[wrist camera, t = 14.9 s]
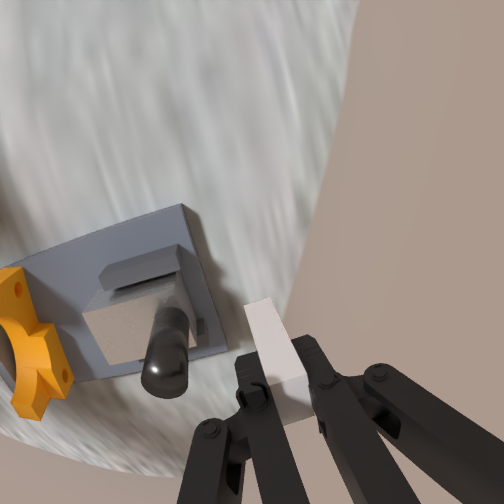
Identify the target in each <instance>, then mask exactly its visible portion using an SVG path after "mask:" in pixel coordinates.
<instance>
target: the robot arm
mask: <svg viewBox="0 0 504 504" xmlns="http://www.w3.org/2000/svg"><path fill="white" fill-rule="evenodd" d="M244 309H245V312H246V315H247V319H248V322H249V325H250V329H251V332H252V335H253V338H254V342H255V345H256V348H257V351H256V352H252V353H249V354H245V355H242V356H238V357H237V359H236V362H235V364H234V365H235V370H236V375H237V380H238V385H239V388H238V390H237V391H236V398H237V401H238V403H239V405H240V409H239V411H238V412H237V413H236V414H235V415H233V416H232V417H230V418H228V419H226V420H224V421H223V420H221V419H217V418H211V419H207V420H205V421H203V422H201V423H200V424H199V425H198V426H197V428H196V430H195V432H194V436H193V440H192V444H191V448H190V452H189V456H188V460H187V464H186V468H185V472H184V476H183V480H182V484H181V488H180V492H179V497H178V500H177V504H241V501H242V491H243V483H244V473H245V464H246V463H245V462H246V460H248V459H250V458H252V461H253V465H254V469H255V474H256V478H257V483H258V487H259V491H260V495H261V499H262V503H263V504H310V503H309V500H308V497H307V494H306V492H305V489H304V486H303V483H302V480H301V478H300V474H299V472H298V469H297V466H296V463H295V460H294V457H293V454H292V451H291V449H290V446H289V443H288V440H287V437H286V434H285V431H284V428H283V426H284V425H287V424H290V423H293V422H296V421H299V420H303V419H306V418H308V417H311V416H314V415H315V414H316V416H317V420H318V426H319V432H320V433H322V434H323V436H324V438H325V441H326V443H327V445H328V447H329V449H330V452H331V454H332V456H333V459H334V461H335V463H336V465H337V467H338V470H339V472H340V474H341V476H342V478H343V481H344V483H345V485H346V487H347V489H348V492H349V494H350V496H351V498H352V500H353V503H354V504H421V503H420V501H419V500H418V498H417V496H416V495H415V493H414V492H413V490H412V488H411V486H410V485H409V483H408V481H407V480H406V478H405V476H404V475H403V473H402V472H401V470H400V468H399V467H398V465H397V463H396V462H395V460H394V458H393V457H392V455H391V454H390V452H389V450H388V449H387V447H386V445H385V444H384V442H383V441H382V439H381V438H380V436H379V434H378V432H379V433H380V434H381V435H382V436H383V437H384V438H386V439H387V440H388V441H389V442H390V443H391V444H392V445H393V446H395V447H396V448H397V449H398V450H399V451H400V452H401V453H403V454H404V455H405V456H406V457H407V458H408V459H410V460H411V461H412V462H413V463H414V464H415V465H416V466H418V467H419V468H420V469H421V470H422V471H424V472H425V473H426V474H427V475H428V476H429V477H431V478H432V479H433V480H434V481H435V482H437V483H438V484H439V485H440V486H441V487H443V488H444V489H445V490H446V491H448V492H449V493H450V494H451V495H453V496H454V497H455V498H456V499H458V500H459V501H460V502H461V503H463V504H504V442H503V441H501V440H500V439H499V438H497V437H496V436H494V435H492V434H491V433H489V432H488V431H486V430H485V429H483V428H482V427H480V426H479V425H477V424H476V423H474V422H473V421H471V420H470V419H468V418H467V417H466V416H464V415H463V414H461V413H459V412H458V411H457V410H455V409H454V408H452V407H451V406H449V405H448V404H446V403H445V402H443V401H442V400H440V399H439V398H437V397H436V396H434V395H433V394H432V393H430V392H429V391H427V390H426V389H424V388H423V387H421V386H420V385H418V384H417V383H415V382H414V381H412V380H411V379H410V378H408V377H407V376H405V375H404V374H402V373H401V372H399V371H398V370H396V369H395V368H394V367H392V366H390V365H388V364H384V363H379V364H374V365H372V366H370V367H368V368H367V369H366V370H365V372H364V375H359V376H351V377H347V376H343V375H341V374H340V373H338V372H336V371H335V370H334V369H333V367H332V366H331V364H330V362H329V361H328V359H327V357H326V356H325V354H324V352H323V351H322V349H321V348H320V346H319V344H318V343H317V341H316V340H315V338H313V337H311V336H309V335H308V334H307V335H304V336H301V337H298V338H295V339H292V340H290V339H289V337H288V334H287V332H286V330H285V328H284V326H283V324H282V322H281V320H280V318H279V316H278V314H277V312H276V310H275V308H274V306H273V304H272V302H271V299H270V298H267V299H264V300H260V301H257V302H254V303H250V304H247V305H244ZM314 412H315V414H314ZM376 430H377V431H378V432H377V431H376Z"/></svg>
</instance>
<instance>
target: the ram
mask: <svg viewBox="0 0 504 504" xmlns="http://www.w3.org/2000/svg"><path fill="white" fill-rule="evenodd" d="M82 315H83V317H84V319H85V321H86V323H87V325H88V327H89V329H90V331H91V333H92V335H93V336H94V338H95V340H96V342H97V344H98V346H99V347H100V349H101V351H102V353H103V354H104V356H105V358H106V360H107V361H108V363H109V365H115V364H120V363H125V362H130V361H135V360H139V359H144V358H145V360H144V365H143V370H142V375H141V383H142V386H143V387H144V389H145V390H146V391H147V392H148V393H150V394H151V395H153V396H155V397H158V398H163V399H172V398H176V397H179V396H181V395H182V394H184V393H185V391H186V390H187V388H188V356H189V348H191V347H195V346H197V317H196V315H195V312H194V309H193V307H192V304H191V301H190V299H189V296H188V293H187V291H186V288H185V285H184V282H183V279H182V277H181V274H180V271H179V270H178V271H175V272H171V273H168V274H164V275H161V276H157V277H154V278H150V279H147V280H144V281H140V282H137V283H133V284H130V285H126V286H123V287H119V288H116V289H112V290H109V291H106V292H104V290H103V288H102V289H98V290H97V292H96V293H95V294H94V296H93V297H92V299H91V300H90V302H89V303H88V305H87V306H86V308H85V310H84V311H83V313H82Z"/></svg>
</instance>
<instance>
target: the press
mask: <svg viewBox="0 0 504 504" xmlns="http://www.w3.org/2000/svg"><path fill="white" fill-rule="evenodd" d="M10 267H23V271H24V275H25V279H26V282H27V286H28V290H29V293H30V297H31V300H32V303H33V306H34V310H35V313H36V316H37V319H38V322H39V323H54V326H55V329H56V332H57V335H58V337H59V340H60V343H61V346H62V348H63V351H64V353H65V356H66V359H67V361H68V364H69V366H70V368H71V371H72V373H73V375H74V378H75V379H74V381H73V383H76V382H83V381H90V380H96V379H102V378H108V377H113V376H119V375H124V374H129V373H134V372H139V371H142V370H143V365H144V360H145V358H144V359H139V360H135V361H130V362H125V363H120V364H115V365H109V363H108V361H107V360H106V358H105V356H104V354H103V353H102V351H101V349H100V347H99V346H98V344H97V342H96V340H95V338H94V336H93V335H92V333H91V331H90V329H89V327H88V325H87V323H86V321H85V319H84V317H83V315H82V313H83V311H84V310H85V308H86V306H87V305H88V303H89V302H90V300H91V299H92V297H93V296H94V294H95V293H96V292H97V290H98V289H102V288H103V290H104V292H106V291H109V290H112V289H116V288H119V287H123V286H126V285H130V284H133V283H137V282H140V281H144V280H147V279H150V278H154V277H157V276H161V275H164V274H168V273H171V272H175V271H178V270H179V271H180V274H181V277H182V279H183V282H184V285H185V288H186V291H187V293H188V296H189V299H190V301H191V304H192V307H193V309H194V312H195V315H196V317H197V346H195V347H191V348H189V356H188V361H189V360H193V359H197V358H201V357H205V356H209V355H213V354H217V353H221V352H224V351H228V345H227V340H226V337H225V334H224V332H223V329H222V326H221V323H220V320H219V318H218V315H217V312H216V309H215V306H214V303H213V300H212V297H211V294H210V291H209V288H208V285H207V282H206V279H205V276H204V273H203V270H202V267H201V264H200V261H199V258H198V255H197V252H196V248H195V245H194V242H193V239H192V236H191V232H190V229H189V226H188V223H187V219H186V216H185V213H184V209H183V206H182V203H181V204H177V205H174V206H171V207H168V208H164V209H161V210H158V211H155V212H152V213H149V214H146V215H142V216H139V217H136V218H133V219H130V220H127V221H124V222H121V223H118V224H116V225H113V226H110V227H107V228H104V229H101V230H98V231H96V232H93V233H90V234H87V235H84V236H82V237H79V238H76V239H74V240H71V241H68V242H66V243H63V244H60V245H58V246H55V247H53V248H50V249H48V250H45V251H43V252H40V253H38V254H35V255H33V256H30V257H28V258H25V259H23V260H20V261H18V262H16V263H13V264H11V265H9V266H6V267H4V268H10ZM0 270H1V269H0ZM0 375H1V377H2V378H3V380H4V381H5V383H6V384H7V385H8V387H9V388H10V390H11V391H12V392H13V394H14V391H15V386H16V360H15V355H14V350H13V347H12V344H11V341H10V338H9V336H8V334H7V333H6V331H5V329H4V328H3V326H2V325H1V324H0Z"/></svg>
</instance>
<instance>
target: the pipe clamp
mask: <svg viewBox="0 0 504 504" xmlns="http://www.w3.org/2000/svg"><path fill="white" fill-rule="evenodd" d="M0 324H1V325H2V326H3V328H4V329H5V331H6V333H7V334H8V336H9V338H10V341H11V344H12V347H13V350H14V355H15V360H16V386H15V391H14V394H13V397H12V400H11V402H10V403H11V404H12V406H13V408H14V409H15V411H16V412H17V414H18V416H19V417H21V418H26V419H31V420H36V421H41V419H42V417H43V414H44V412H45V410H46V408H47V405H48V403H49V401H50V399H51V398H55V399H65V400H66V398H67V395H68V393H69V390H70V388H71V386H72V384H73V381H74V379H75V378H74V375H73V373H72V371H71V368H70V366H69V364H68V361H67V359H66V356H65V353H64V351H63V348H62V346H61V343H60V340H59V337H58V335H57V332H56V329H55V326H54V323H39V322H38V319H37V316H36V313H35V310H34V306H33V303H32V300H31V297H30V293H29V290H28V286H27V282H26V279H25V275H24V271H23V267H10V268H2V269H1V270H0Z"/></svg>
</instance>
